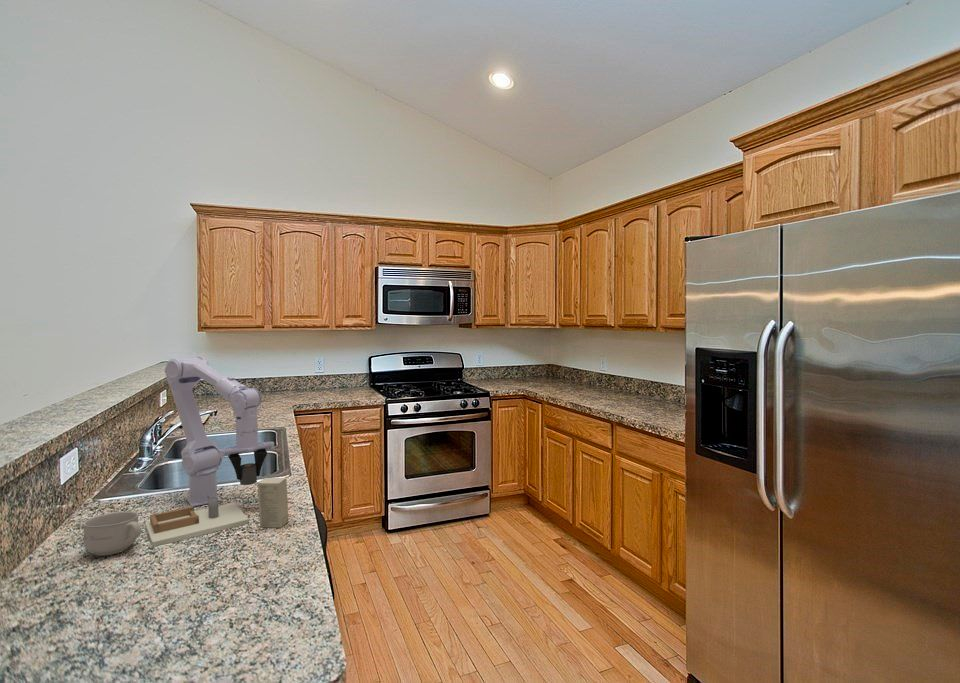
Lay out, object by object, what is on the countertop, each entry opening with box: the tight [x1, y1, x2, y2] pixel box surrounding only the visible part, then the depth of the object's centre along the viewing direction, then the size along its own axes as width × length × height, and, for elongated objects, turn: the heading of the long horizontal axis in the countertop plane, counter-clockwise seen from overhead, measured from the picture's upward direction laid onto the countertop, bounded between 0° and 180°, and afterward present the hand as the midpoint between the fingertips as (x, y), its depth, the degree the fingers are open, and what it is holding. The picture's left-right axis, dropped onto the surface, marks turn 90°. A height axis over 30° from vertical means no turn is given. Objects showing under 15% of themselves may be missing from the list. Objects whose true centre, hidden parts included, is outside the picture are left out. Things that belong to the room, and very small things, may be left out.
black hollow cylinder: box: [239, 462, 258, 486], centre depth 146 cm, size 4×4×5 cm
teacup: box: [82, 510, 142, 557], centre depth 121 cm, size 14×11×8 cm
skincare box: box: [257, 477, 289, 529], centre depth 135 cm, size 6×4×12 cm
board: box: [144, 494, 250, 548], centre depth 136 cm, size 16×22×6 cm
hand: (248, 477), depth 146 cm, fingers closed on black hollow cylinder, 4 cm apart
